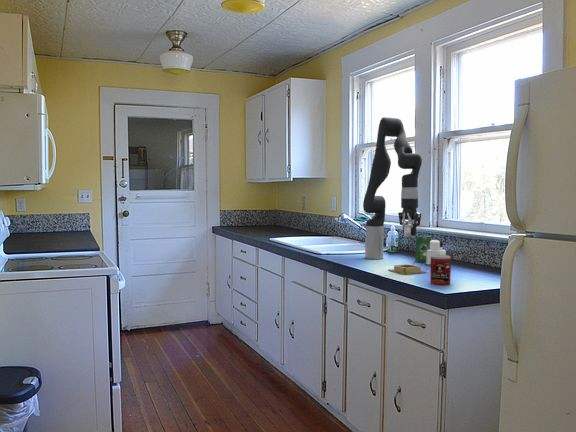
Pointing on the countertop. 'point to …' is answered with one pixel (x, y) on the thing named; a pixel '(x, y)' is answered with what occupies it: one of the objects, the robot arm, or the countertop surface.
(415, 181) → the robot arm
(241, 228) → the countertop surface
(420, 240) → the coffee box
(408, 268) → the collar
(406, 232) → the cylinder
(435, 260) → the canned food
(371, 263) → the countertop surface
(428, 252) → the medicine bottle
